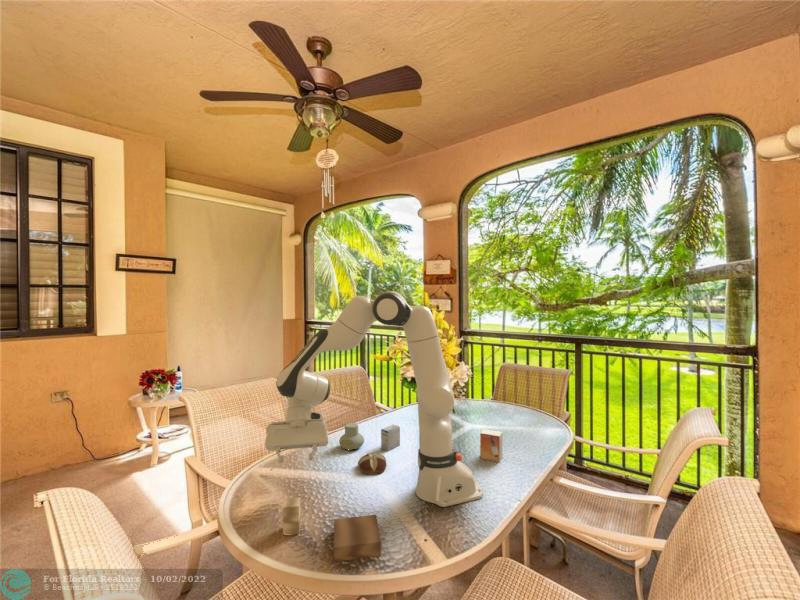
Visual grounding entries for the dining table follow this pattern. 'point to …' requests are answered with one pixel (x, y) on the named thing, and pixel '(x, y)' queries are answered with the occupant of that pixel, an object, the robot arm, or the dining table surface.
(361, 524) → the walnut base block
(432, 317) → the robot arm
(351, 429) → the air freshener
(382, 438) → the medicine box
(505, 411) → the dining table surface
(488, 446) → the small box
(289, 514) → the maple block
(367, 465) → the bread
